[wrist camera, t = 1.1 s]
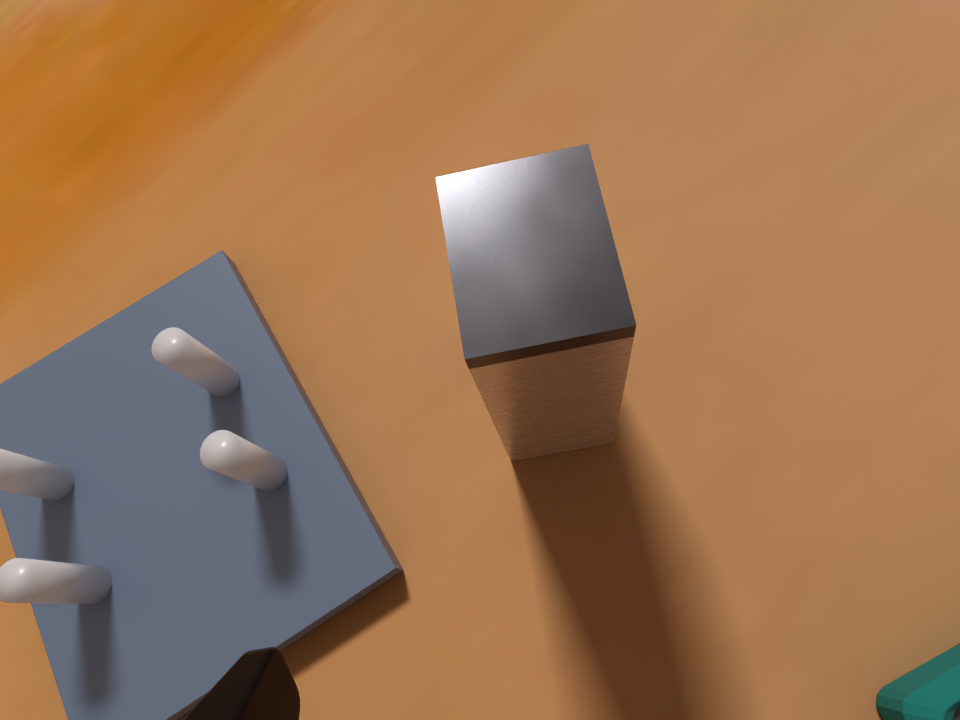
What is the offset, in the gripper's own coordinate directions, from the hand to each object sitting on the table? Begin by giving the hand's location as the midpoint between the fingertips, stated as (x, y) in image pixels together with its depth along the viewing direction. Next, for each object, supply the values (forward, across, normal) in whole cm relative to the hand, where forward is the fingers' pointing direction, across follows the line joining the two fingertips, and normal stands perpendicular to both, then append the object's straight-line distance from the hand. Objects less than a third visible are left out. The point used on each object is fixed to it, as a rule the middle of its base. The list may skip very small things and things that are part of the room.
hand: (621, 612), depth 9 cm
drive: (+15, 0, +4) cm, 15 cm away
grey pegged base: (+14, +14, +5) cm, 20 cm away
